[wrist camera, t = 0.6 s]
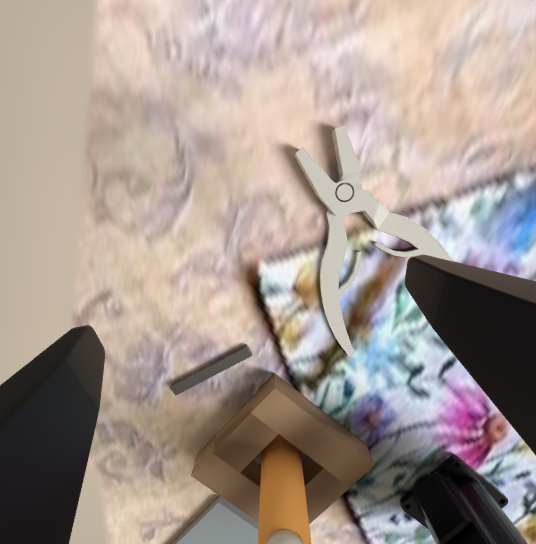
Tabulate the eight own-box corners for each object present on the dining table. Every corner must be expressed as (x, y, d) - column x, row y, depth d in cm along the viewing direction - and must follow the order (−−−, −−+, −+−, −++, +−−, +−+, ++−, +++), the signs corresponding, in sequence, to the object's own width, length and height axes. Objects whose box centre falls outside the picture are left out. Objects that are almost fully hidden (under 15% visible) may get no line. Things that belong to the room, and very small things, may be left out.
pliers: (349, 363, 22) (250, 176, 20) (344, 353, 24) (251, 178, 21) (477, 303, 21) (391, 96, 18) (463, 296, 23) (382, 104, 20)
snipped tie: (246, 344, 23) (246, 347, 23) (252, 353, 23) (251, 355, 23) (171, 384, 24) (169, 387, 24) (177, 392, 24) (175, 395, 24)
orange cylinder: (308, 448, 25) (324, 556, 17) (283, 472, 26) (287, 588, 18) (279, 426, 25) (282, 526, 17) (254, 451, 25) (245, 560, 17)
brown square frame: (366, 445, 25) (374, 465, 23) (286, 518, 27) (288, 543, 25) (274, 373, 24) (274, 388, 22) (197, 454, 25) (191, 475, 23)
